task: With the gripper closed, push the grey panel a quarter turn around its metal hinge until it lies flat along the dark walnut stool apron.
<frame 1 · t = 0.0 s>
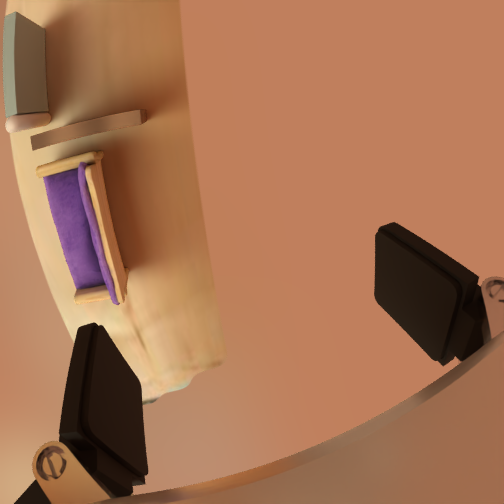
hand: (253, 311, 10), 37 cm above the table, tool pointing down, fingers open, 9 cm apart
grey panel: (26, 73, 25), point 6 cm above the table, hinge at 0.0°
stool apron: (103, 123, 37), on the table
toy sofa: (89, 218, 42), on the table
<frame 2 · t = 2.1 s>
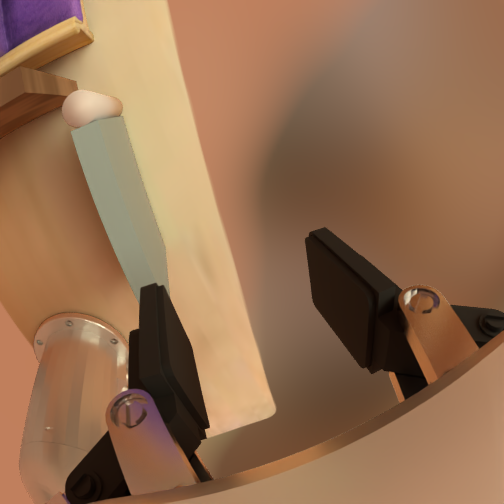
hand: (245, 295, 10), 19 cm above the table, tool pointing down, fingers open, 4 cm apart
grey panel: (125, 193, 21), point 6 cm above the table, hinge at 0.0°
stool apron: (19, 118, 20), on the table
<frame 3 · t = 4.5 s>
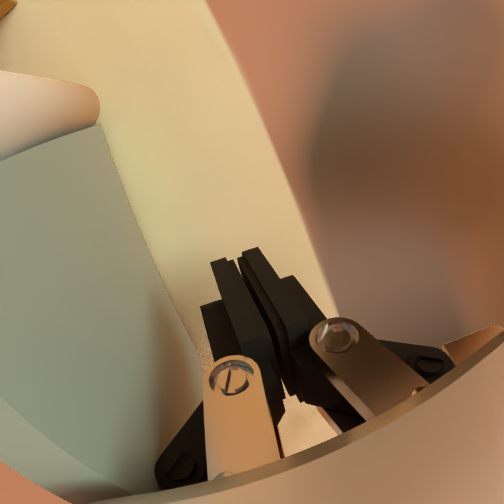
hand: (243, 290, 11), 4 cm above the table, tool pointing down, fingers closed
grey panel: (117, 327, 8), point 6 cm above the table, hinge at 10.0°, touching gripper
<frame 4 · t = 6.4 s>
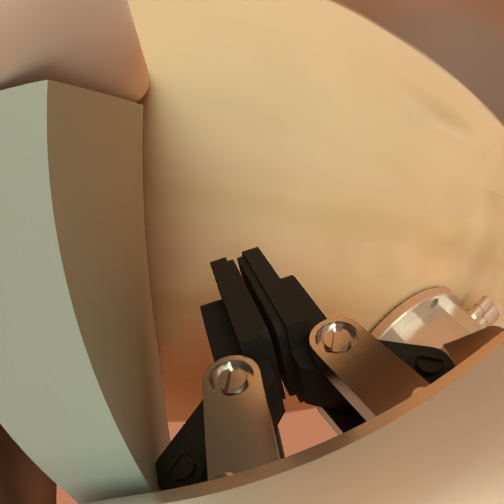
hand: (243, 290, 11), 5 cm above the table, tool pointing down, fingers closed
grey panel: (115, 309, 8), point 6 cm above the table, hinge at 79.5°, touching gripper
stool apron: (46, 268, 13), on the table
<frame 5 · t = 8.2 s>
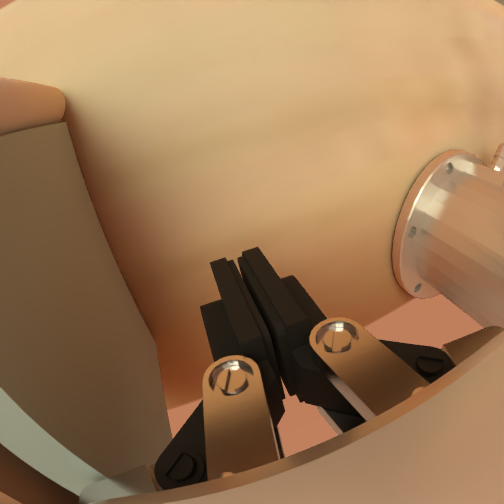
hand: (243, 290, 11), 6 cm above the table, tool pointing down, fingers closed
grey panel: (66, 303, 9), point 6 cm above the table, hinge at 90.9°
stool apron: (63, 289, 14), on the table
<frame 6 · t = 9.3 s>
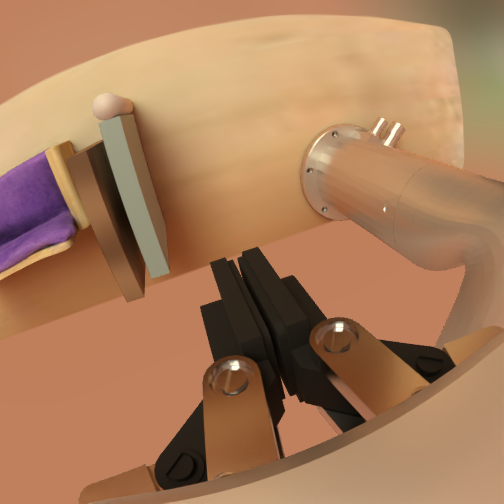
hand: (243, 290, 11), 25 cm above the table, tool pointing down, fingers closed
grey panel: (135, 175, 26), point 6 cm above the table, hinge at 90.9°
stool apron: (122, 191, 31), on the table
toy sofa: (18, 207, 28), on the table
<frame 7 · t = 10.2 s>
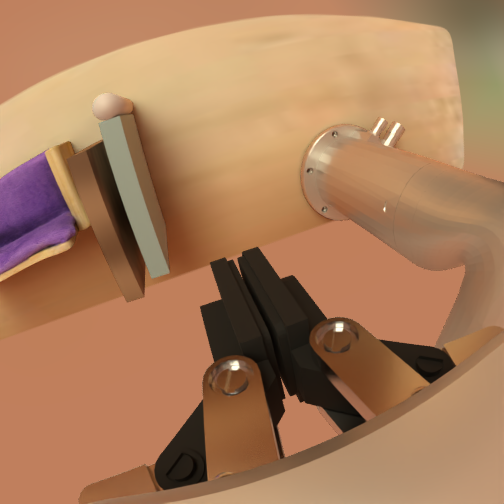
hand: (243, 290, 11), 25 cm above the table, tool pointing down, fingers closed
grey panel: (135, 175, 26), point 6 cm above the table, hinge at 90.9°
stool apron: (122, 191, 31), on the table
toy sofa: (18, 209, 28), on the table
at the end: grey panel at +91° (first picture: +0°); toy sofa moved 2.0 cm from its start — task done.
